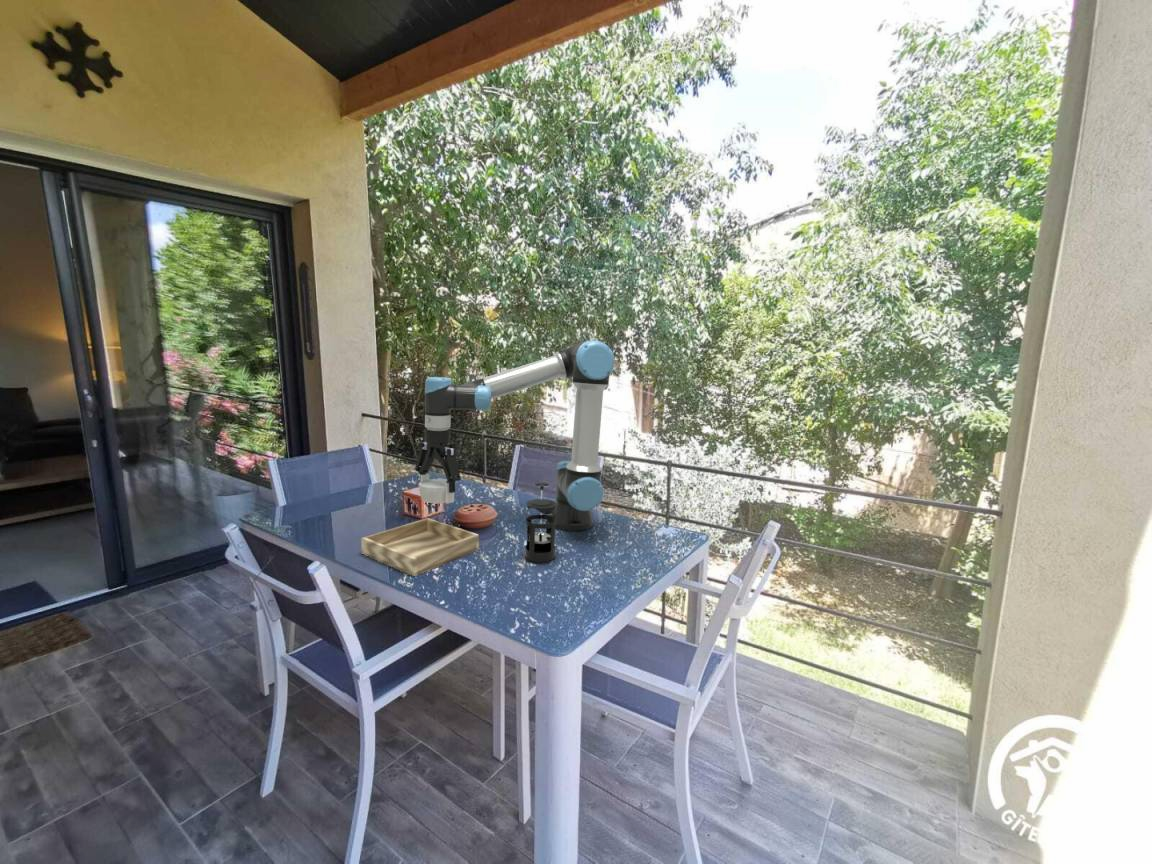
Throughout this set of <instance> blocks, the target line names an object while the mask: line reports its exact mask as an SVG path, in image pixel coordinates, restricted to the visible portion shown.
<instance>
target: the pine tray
mask: <svg viewBox="0 0 1152 864" xmlns="http://www.w3.org/2000/svg"><path fill="white" fill-rule="evenodd" d="M360 542H361V555H362V554H364V555H363V556H365V555H366V556H365V557H367V556H369V557H371V558H370V559H372V558H373V559H372V560H374V559H375V561H376V560H377V562H379V563H381V564H383V563H384V565H385V566H388V567H390V566H391V568H392V567H393V569H395V570H397V571H399V570H400V572H402V573H404V572H405V573H404V574H406V573H407V574H406V575H409V574H410V575H409V576H411V575H412V577H413V576H415V577H417V576H420V575H422V574H425V573H427V572H430V571H431V569H432V570H434V569H436V567H437V568H439V567H442V566H443V565H446V564H448V563H450V562H453V561H456V560H459V559H461V558H463V557H465V556H468V555H470V554H473V553H474V552H478V551H479V549H480V534H478V533H475V532H472V531H469V530H466V529H463V528H460V527H456V526H454V525H452V524H447V523H445V522H442V521H438V520H435V519H432V518H429V517H426V518H423V519H420V520H416V521H412V522H409V523H406V524H403V525H399V526H396V527H392V528H389V529H387V530H382V531H380V532H377V533H373V534H370V535H366V536H363V537H361V538H360ZM369 557H368V558H369ZM441 565H442V566H441ZM426 571H427V572H426ZM424 572H425V573H424ZM421 573H422V574H421ZM419 574H420V575H419Z"/></svg>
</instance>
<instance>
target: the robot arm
mask: <svg viewBox="0 0 1152 864" xmlns="http://www.w3.org/2000/svg"><path fill="white" fill-rule="evenodd" d="M615 363H616V362H615V355H614V352H613V350H612V349H611V347H610V346H609V345H607V344H606V343H604V342H602V341H600V340H595V339H594V340H582V341H579V342H577V343H575V344H573V345H571V346H569V347H566V348H564V349H562V350H561V349H560V350H558V351H556V352H555V353H554V355H552V356H549V357H545V358H543V359H542V358H541V359H539V360H537V361H533V362H530V363H526V364H524V365H520V366H517V367H514V368H511V369H507V370H504V371H502V372H498V373H495V374H491V375H489V376H484V377H482V378H479V379H476V380H471V381H467V382H465V383H462V384H454V383H452V379H451V378H450V377H442V376H430V377H427V378H426V379H425V382H424V427H425V429H424V441H423V442H420V443H419V452H418V456H417V459H416V464H415V466H414V471H415V472H418V474H419V483H420V482H421V481H424V480H429V479H430V471H429V469H430V468H431V466H432V464H433V462H434V460H437V461H438V463H440V465H441V468H442V470H443V473H444V475H445V479H447V481H446V495H445V505H446V504H451V503H454V502H455V492H456V486H455V482H458V481H461V479H462V477H461V474H460V469H459V464H458V460H457V455H456V452H457V451H456V448H455V447H452V448H450V447H449V445H448V443H449V442H451V430H450V428H451V425H452V424H451V421H452V420H451V418H452V417H451V415H452V414H451V410H454V411H455V410H465V411H466V410H467V411H489V410H490V409H491V405H492V400H493V399H497V398H500V397H503V396H506V395H508V394H512V393H515V392H519V391H522V390H525V389H528V388H531V387H535V386H538V385H540V384H544V383H547V382H550V381H553V380H557V379H560V378H561V379H564V380H566V379H570V378H572V379H571V380H572V381H571V382H572V384H573V386H575V389H576V392H575V403H574V416H573V417H574V419H573V434H572V443H571V444H572V446H571V460H563V461H559V462H558V463H557V465H556V466H557V467H556V494H555V496H556V498H555V502H556V503H557V505H556V506H555V512H553V513H551V515H555V518H556V525H555V529H557V528H558V529H557V530H561V529H562V530H561V531H566V530H569V531H570V532H577V531H576V530H581V531H585V530H584V529H586V530H588V529H587V528H589V529H590V527H591V526H592V525H593V524H594V517H593V516H592V515H593V514H592V511H591V510H594V509H595V508H596V507H598V506H599V505H600V504H601V503H602V500H603V498H604V494H605V492H604V487H603V485H602V484H603V483H602V482H601V481H602V470H603V469H602V467H601V466H600V465H599V463H598V462H599V461H598V460H599V449H600V436H601V426H602V425H601V424H602V423H601V422H602V412H603V410H602V409H603V400H604V399H603V397H604V390H605V389H606V388H607V387H608V386H609V382H610V374H611V373H612V371H613V370H614V368H615ZM592 527H593V526H592ZM592 527H591V528H592ZM569 531H568V532H569Z"/></svg>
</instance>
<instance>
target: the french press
mask: <svg viewBox="0 0 1152 864" xmlns="http://www.w3.org/2000/svg"><path fill="white" fill-rule="evenodd" d="M534 486H536V487H539V489H540V498H538V499H537V498H536V499H531V500H528V501H526V503H525V505H526V506H527V511H529V510H530V509H535V510H537V511H539V512H540V514H533V515H528V516H527V517H526V518H525V525H526V545H525V548H524V558H523V559H524V560H525V561H526V562H527V563H530V564H534V563H535V565H544V564H543V563H547V564H549V563H548V562H551V561H553V560H554V561H555V560H556V559H555V558H557V556H556V545H555V543H556V542H555V539H556V538H555V536H556V532H555V531H556V528H555V525H556V518H555V515H552V513H553V512H555V506H556V505H557V503H556V500H555V501H554V500H551V499H546V498H543V491H544V487H548V486H550V483H548V482H544V481H541V482H539V481H538V482H535V483H534ZM532 520H540V521H539V522H540V523H533V522H532ZM543 520H546V523H544V524H542V522H543ZM536 529H539V531H540V532H538V531H537V532H536ZM543 529H545V532H543V531H542V530H543ZM554 561H553V562H554ZM551 563H552V562H551Z"/></svg>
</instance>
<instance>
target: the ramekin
mask: <svg viewBox="0 0 1152 864" xmlns="http://www.w3.org/2000/svg"><path fill="white" fill-rule="evenodd" d="M446 481H447V478H429V480H424V481H421V482H420V481H419V482H418V489H419V494H420V499H421V500H422V501H423V502H425V503H428V504H429V503H430V504H442V503H443V504H444V503H445V495H446ZM456 482H457V481H456ZM456 482H455V487H456V486H457V483H456ZM445 504H446V503H445Z"/></svg>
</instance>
